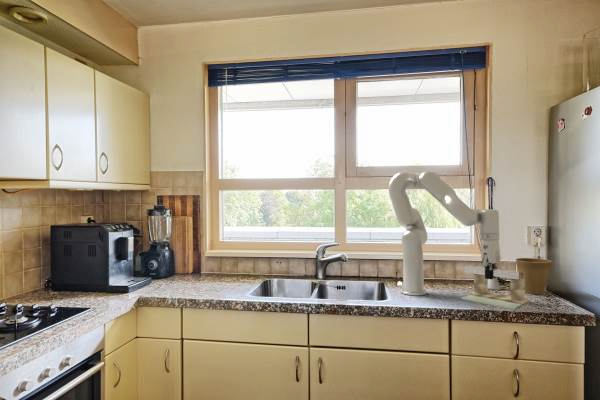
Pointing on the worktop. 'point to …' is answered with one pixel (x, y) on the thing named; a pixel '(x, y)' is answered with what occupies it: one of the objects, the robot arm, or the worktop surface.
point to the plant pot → (534, 273)
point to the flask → (493, 284)
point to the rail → (495, 272)
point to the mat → (491, 302)
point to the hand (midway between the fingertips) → (490, 277)
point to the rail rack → (516, 294)
